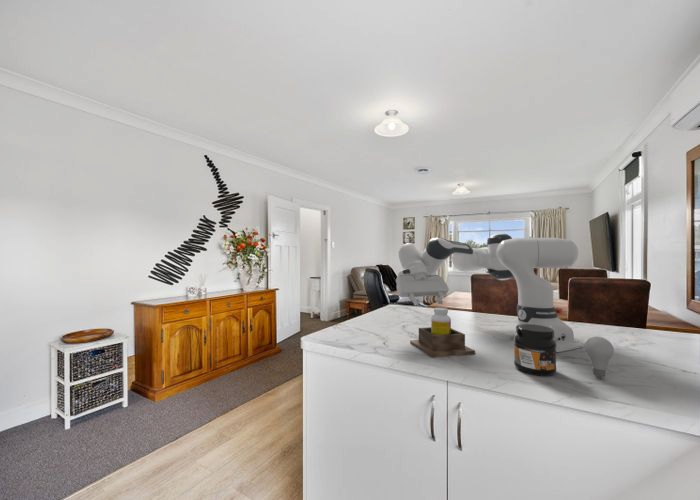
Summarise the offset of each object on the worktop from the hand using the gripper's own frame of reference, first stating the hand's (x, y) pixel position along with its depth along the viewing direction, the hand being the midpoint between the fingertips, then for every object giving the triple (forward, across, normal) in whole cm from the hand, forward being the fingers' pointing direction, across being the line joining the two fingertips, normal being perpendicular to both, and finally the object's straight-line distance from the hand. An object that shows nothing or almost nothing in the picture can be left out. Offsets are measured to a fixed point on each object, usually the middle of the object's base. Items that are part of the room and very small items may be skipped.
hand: (429, 304), depth 115 cm
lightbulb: (+38, -29, +18) cm, 51 cm away
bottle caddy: (+15, -1, -5) cm, 16 cm away
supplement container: (+32, -17, +12) cm, 38 cm away
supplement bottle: (+14, -1, -4) cm, 15 cm away
